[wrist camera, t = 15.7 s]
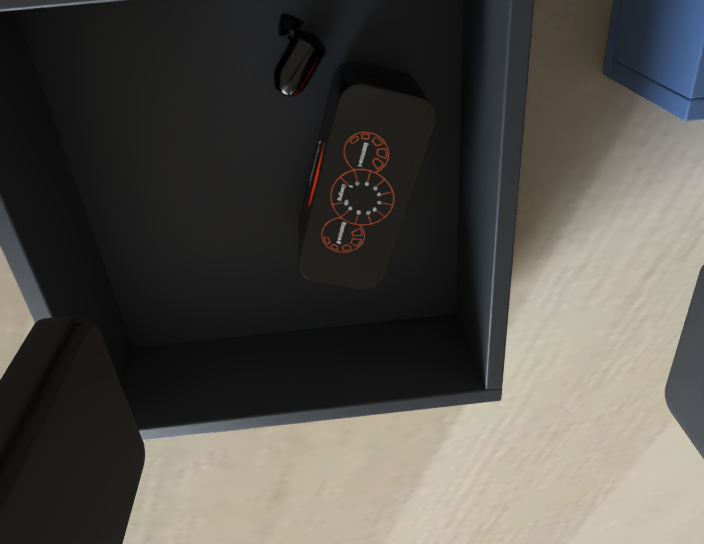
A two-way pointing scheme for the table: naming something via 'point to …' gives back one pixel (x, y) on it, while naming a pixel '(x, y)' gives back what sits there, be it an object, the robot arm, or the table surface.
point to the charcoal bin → (257, 203)
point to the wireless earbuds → (355, 161)
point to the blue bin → (659, 53)
